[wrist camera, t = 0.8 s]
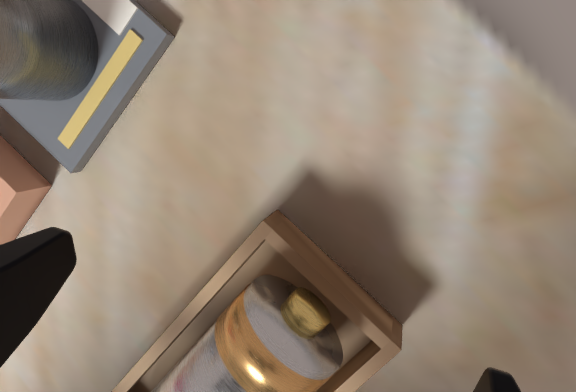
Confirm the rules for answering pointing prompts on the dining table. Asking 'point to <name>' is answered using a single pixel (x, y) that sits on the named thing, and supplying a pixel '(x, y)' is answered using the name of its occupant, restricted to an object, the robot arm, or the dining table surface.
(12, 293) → the robot arm
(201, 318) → the trough
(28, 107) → the grey base plate
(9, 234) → the pink open tray
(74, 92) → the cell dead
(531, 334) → the dining table surface
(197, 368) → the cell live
